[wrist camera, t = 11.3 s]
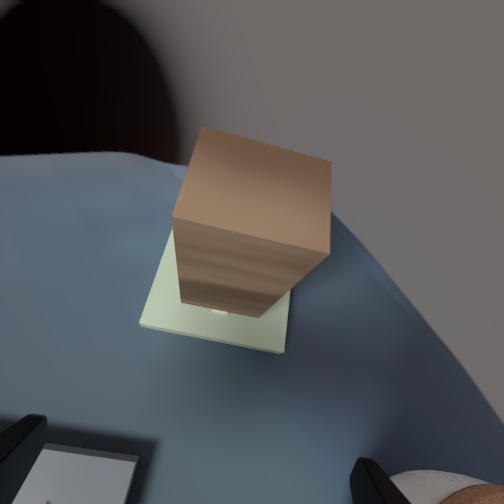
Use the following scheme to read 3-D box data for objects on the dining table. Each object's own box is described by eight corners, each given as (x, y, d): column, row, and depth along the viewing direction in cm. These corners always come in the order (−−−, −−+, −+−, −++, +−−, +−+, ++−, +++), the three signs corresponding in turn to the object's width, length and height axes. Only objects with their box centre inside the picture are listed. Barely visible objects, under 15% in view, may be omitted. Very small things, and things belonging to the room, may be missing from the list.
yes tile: (278, 354, 18) (284, 352, 17) (142, 326, 17) (138, 322, 16) (289, 255, 21) (295, 247, 20) (176, 227, 20) (175, 217, 19)
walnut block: (258, 318, 17) (330, 253, 9) (180, 302, 17) (171, 216, 8) (265, 262, 19) (331, 161, 10) (196, 246, 19) (202, 125, 10)
